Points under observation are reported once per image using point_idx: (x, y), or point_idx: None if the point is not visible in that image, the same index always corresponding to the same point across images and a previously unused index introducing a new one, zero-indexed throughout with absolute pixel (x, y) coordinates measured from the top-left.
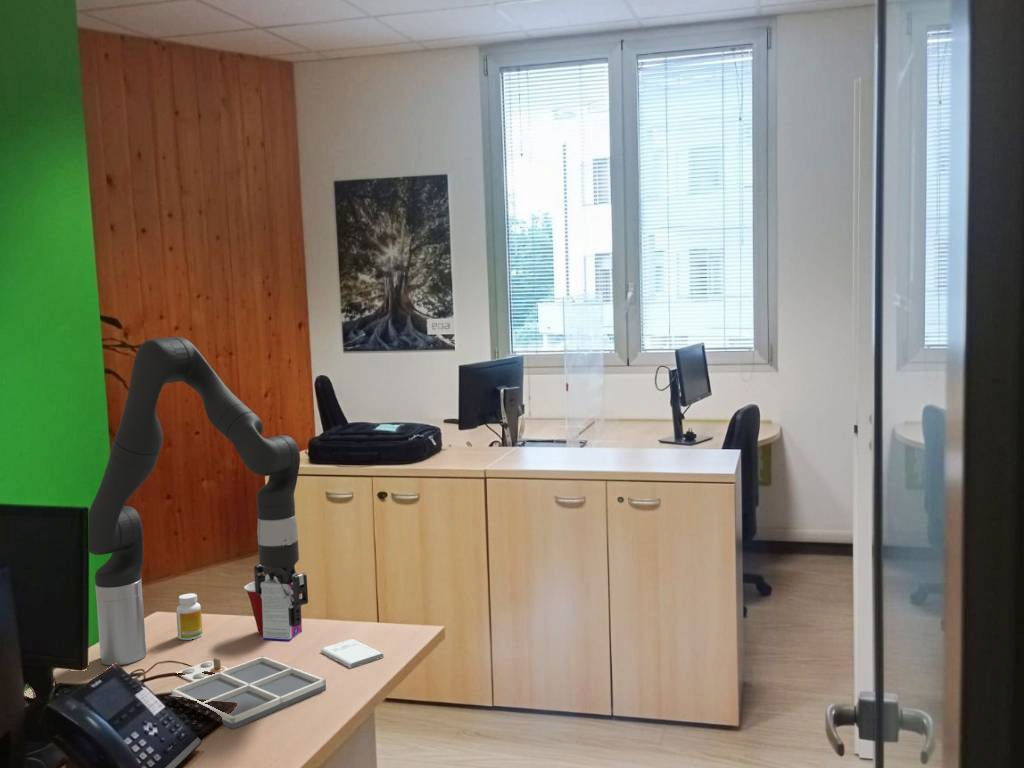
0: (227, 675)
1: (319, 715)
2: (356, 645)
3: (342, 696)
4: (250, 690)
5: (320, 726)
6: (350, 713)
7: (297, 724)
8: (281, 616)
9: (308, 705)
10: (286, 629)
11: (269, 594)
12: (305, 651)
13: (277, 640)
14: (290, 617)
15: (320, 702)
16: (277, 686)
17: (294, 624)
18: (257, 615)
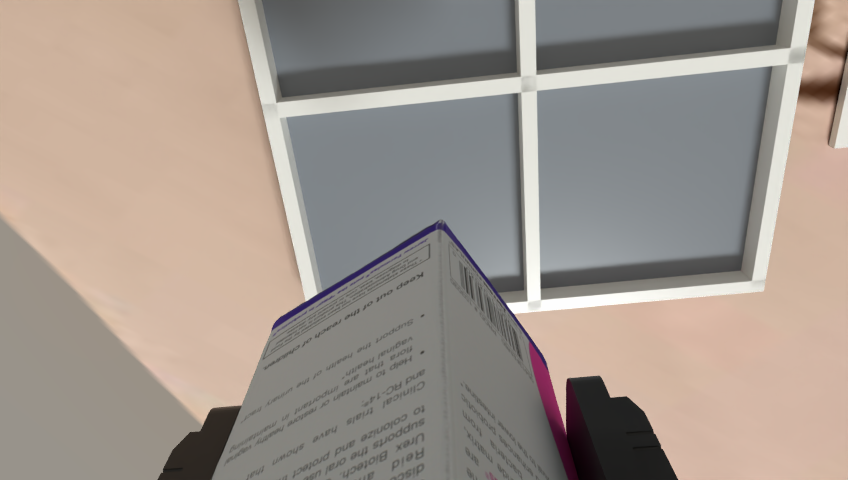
0: (724, 63)
1: (108, 174)
2: None
3: (219, 315)
4: (501, 74)
5: (3, 124)
6: (55, 260)
7: (76, 67)
8: (270, 431)
9: (228, 193)
10: (266, 368)
11: None
12: (699, 427)
13: (344, 279)
14: (190, 464)
15: (223, 238)
16: (450, 185)
17: (194, 432)
18: None
